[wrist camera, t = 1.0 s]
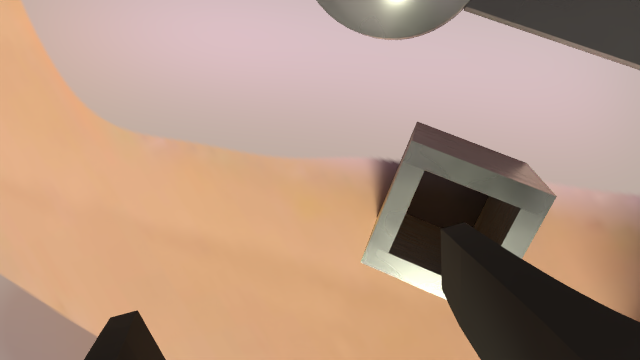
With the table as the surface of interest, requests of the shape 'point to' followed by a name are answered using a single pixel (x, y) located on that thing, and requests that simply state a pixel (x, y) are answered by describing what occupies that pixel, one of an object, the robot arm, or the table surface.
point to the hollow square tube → (468, 170)
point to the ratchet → (506, 20)
